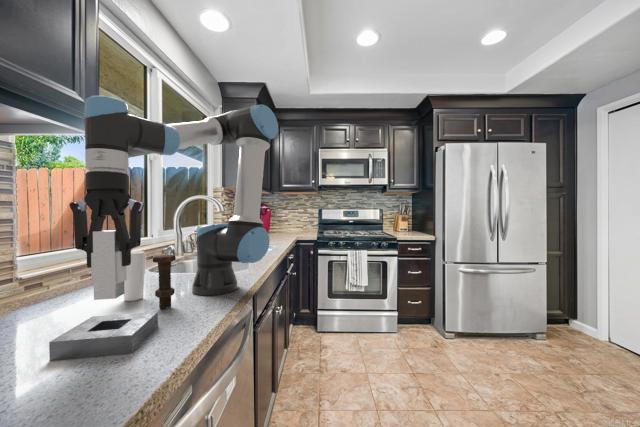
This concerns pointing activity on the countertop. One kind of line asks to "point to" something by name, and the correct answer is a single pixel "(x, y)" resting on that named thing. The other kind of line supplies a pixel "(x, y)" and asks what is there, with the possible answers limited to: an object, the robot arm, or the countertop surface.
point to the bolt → (164, 280)
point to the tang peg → (106, 265)
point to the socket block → (104, 336)
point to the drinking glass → (135, 277)
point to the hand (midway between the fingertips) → (109, 281)
